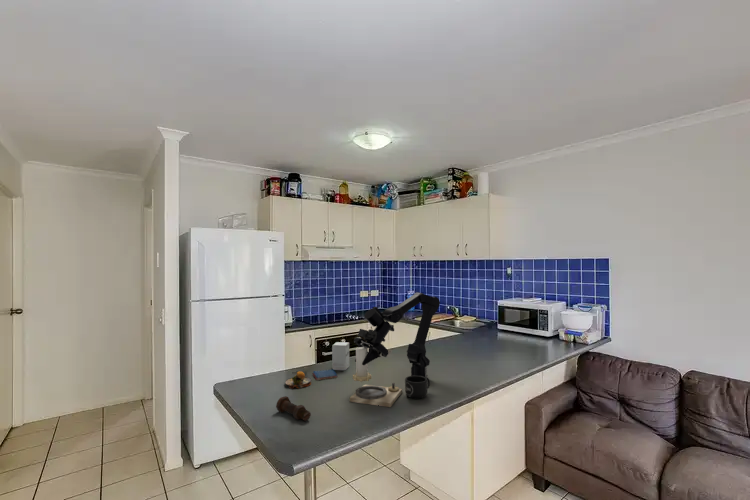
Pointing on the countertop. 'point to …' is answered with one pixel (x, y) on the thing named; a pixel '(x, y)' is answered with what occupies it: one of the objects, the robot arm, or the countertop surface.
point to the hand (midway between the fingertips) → (359, 363)
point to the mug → (416, 386)
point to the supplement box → (340, 356)
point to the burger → (298, 381)
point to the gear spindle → (361, 369)
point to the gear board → (376, 395)
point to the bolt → (292, 409)
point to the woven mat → (324, 374)
